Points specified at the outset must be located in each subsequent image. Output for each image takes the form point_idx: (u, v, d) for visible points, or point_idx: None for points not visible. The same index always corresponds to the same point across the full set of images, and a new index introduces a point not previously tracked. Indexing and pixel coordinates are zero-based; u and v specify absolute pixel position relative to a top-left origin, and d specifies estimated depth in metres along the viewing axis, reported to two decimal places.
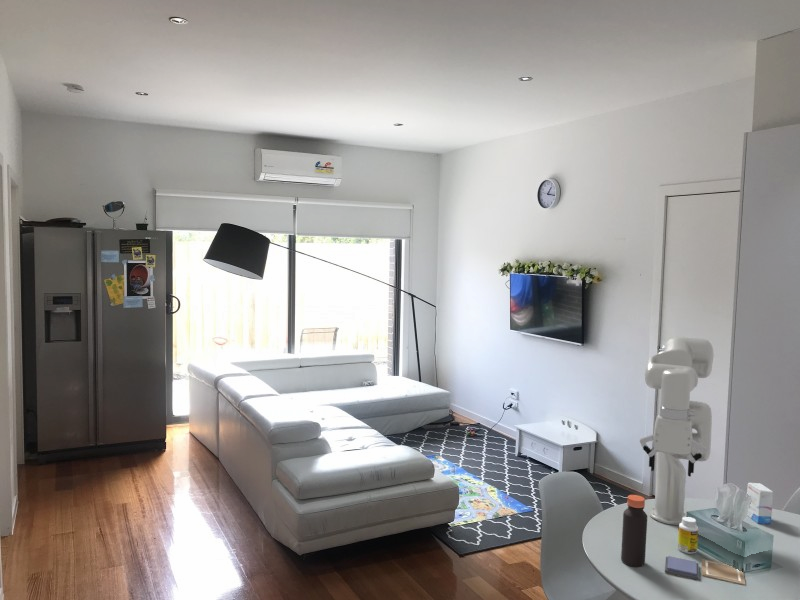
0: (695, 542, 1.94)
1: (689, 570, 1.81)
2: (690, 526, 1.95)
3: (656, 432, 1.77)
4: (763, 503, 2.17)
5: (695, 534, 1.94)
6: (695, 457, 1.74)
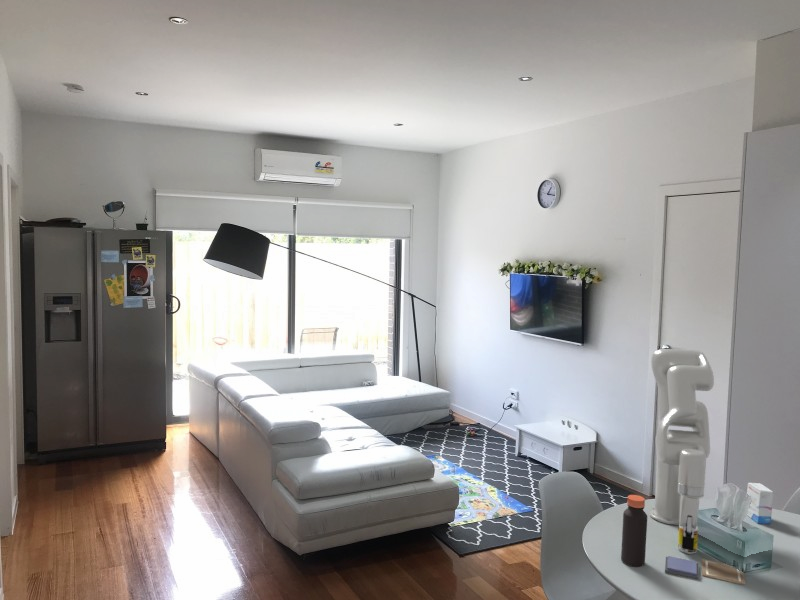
0: (695, 542, 1.94)
1: (689, 570, 1.81)
2: None
3: (697, 512, 1.91)
4: (763, 503, 2.17)
5: (695, 534, 1.94)
6: None
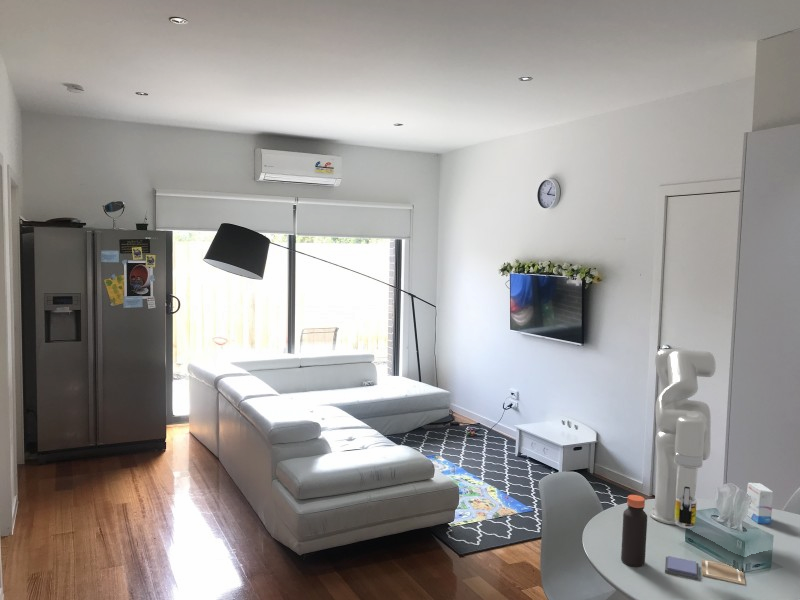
0: (693, 516, 1.81)
1: (689, 570, 1.81)
2: None
3: (695, 483, 1.78)
4: (763, 503, 2.17)
5: (693, 507, 1.81)
6: None
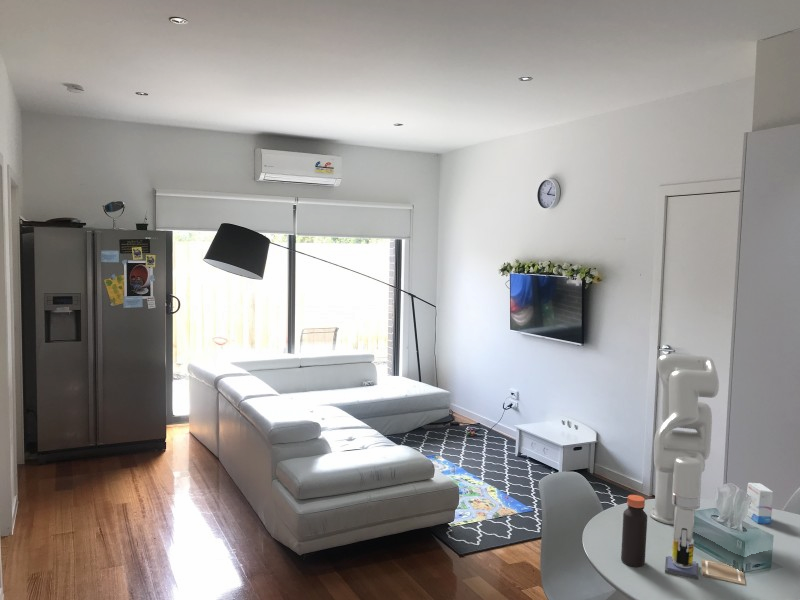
0: (690, 556, 1.82)
1: (689, 570, 1.81)
2: None
3: (692, 525, 1.79)
4: (763, 503, 2.17)
5: (690, 547, 1.82)
6: None
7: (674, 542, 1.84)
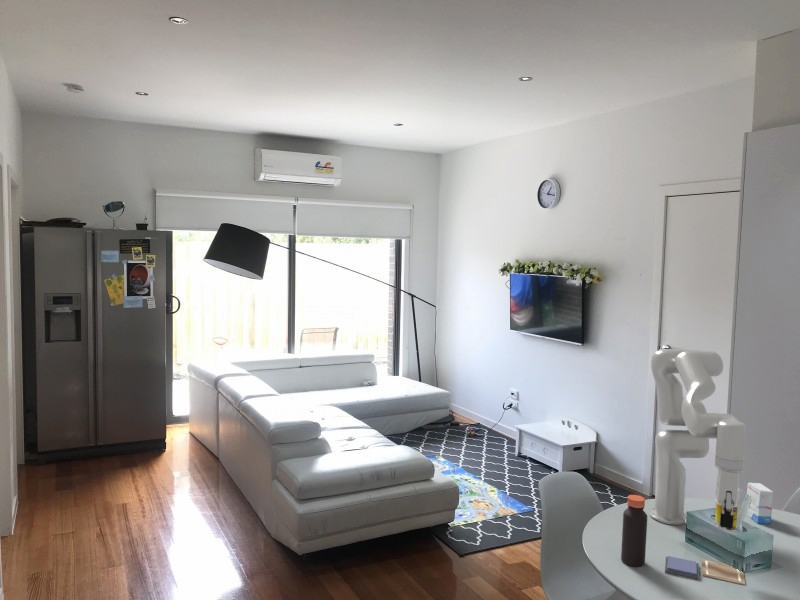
0: (734, 519, 1.80)
1: (689, 570, 1.81)
2: None
3: (737, 487, 1.77)
4: (763, 503, 2.17)
5: (734, 510, 1.80)
6: None
7: (717, 506, 1.82)
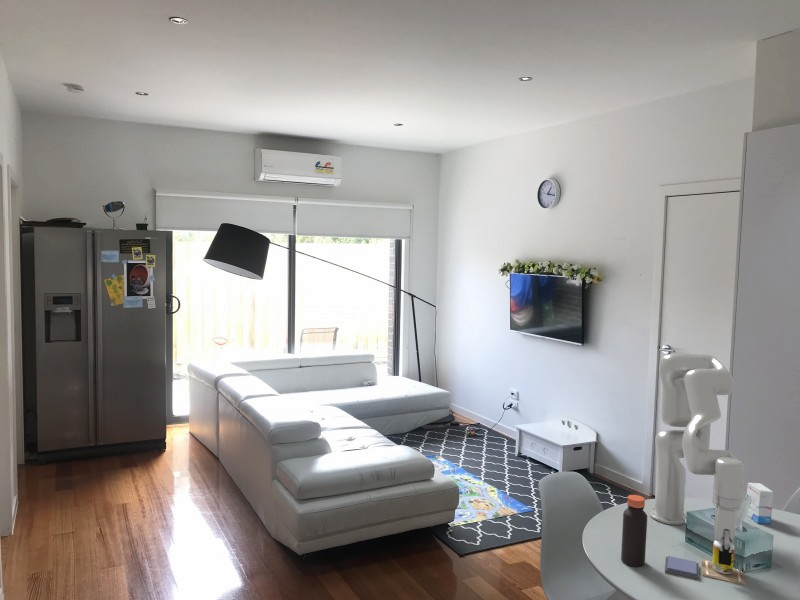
0: (731, 562, 1.82)
1: (689, 570, 1.81)
2: None
3: (735, 526, 1.78)
4: (763, 503, 2.17)
5: None
6: None
7: (714, 548, 1.84)
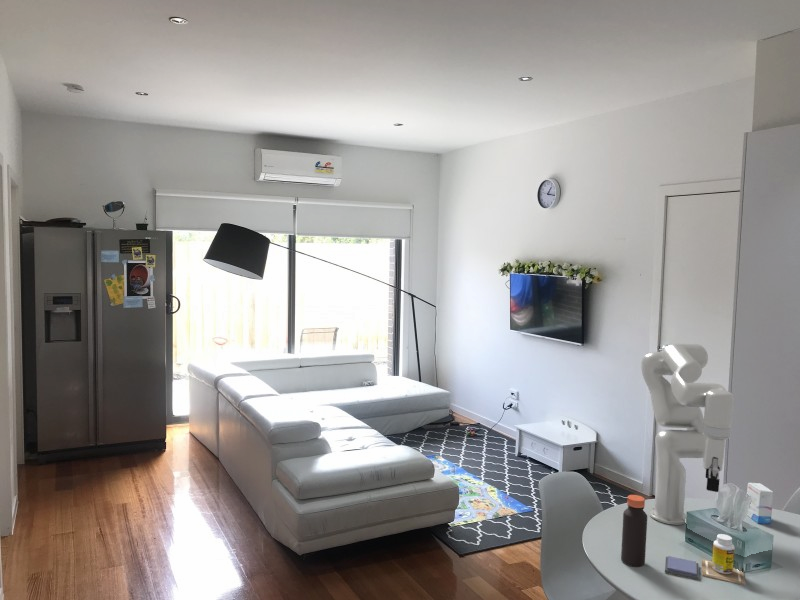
0: (731, 562, 1.82)
1: (689, 570, 1.81)
2: (726, 544, 1.82)
3: (723, 454, 1.84)
4: (763, 503, 2.17)
5: (731, 553, 1.81)
6: None
7: (714, 548, 1.84)
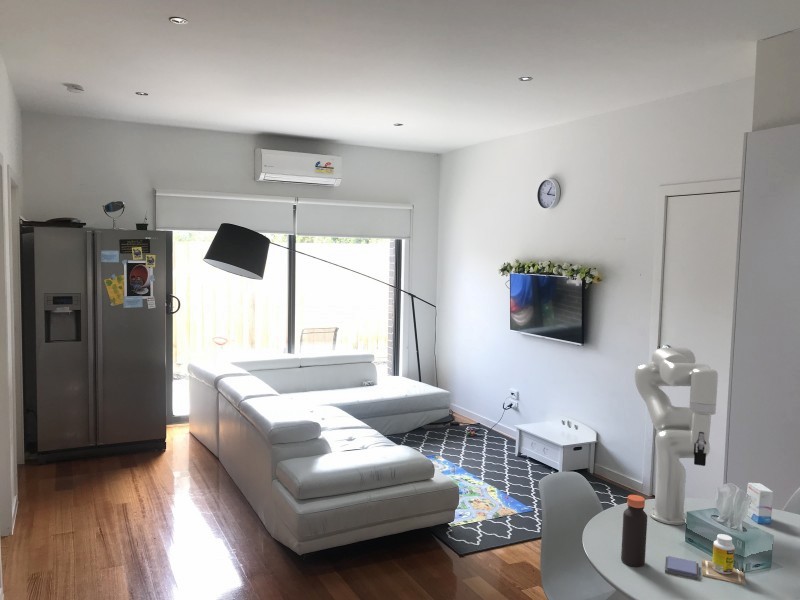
0: (731, 562, 1.82)
1: (689, 570, 1.81)
2: (726, 545, 1.82)
3: (709, 429, 1.92)
4: (763, 503, 2.17)
5: (731, 553, 1.81)
6: None
7: (714, 548, 1.84)
